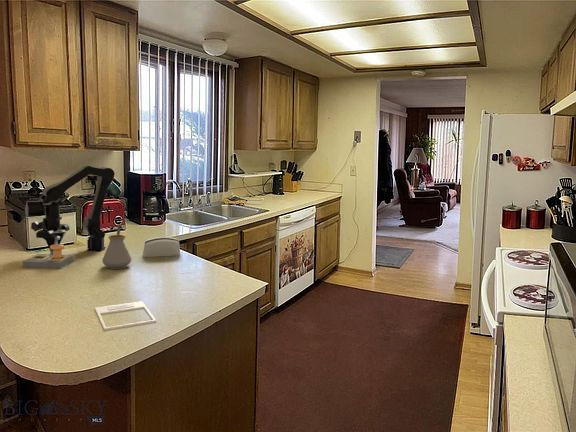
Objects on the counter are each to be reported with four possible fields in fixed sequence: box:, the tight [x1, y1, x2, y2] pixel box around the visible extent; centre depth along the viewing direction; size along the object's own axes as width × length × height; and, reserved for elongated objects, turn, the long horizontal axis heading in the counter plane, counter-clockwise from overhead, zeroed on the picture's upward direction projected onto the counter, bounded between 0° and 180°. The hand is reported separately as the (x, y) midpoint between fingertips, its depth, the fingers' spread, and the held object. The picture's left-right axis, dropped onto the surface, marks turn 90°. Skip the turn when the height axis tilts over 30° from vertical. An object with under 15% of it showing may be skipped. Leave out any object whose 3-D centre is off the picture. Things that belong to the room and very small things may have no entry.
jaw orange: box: [49, 243, 65, 259], centre depth 194 cm, size 5×5×8 cm
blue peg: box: [49, 235, 60, 255], centre depth 209 cm, size 5×5×8 cm
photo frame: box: [94, 300, 157, 331], centre depth 144 cm, size 15×1×18 cm
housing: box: [22, 253, 75, 270], centre depth 194 cm, size 15×12×3 cm
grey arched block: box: [142, 236, 181, 258], centre depth 215 cm, size 17×5×10 cm, turn 112°
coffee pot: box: [101, 224, 133, 270], centre depth 199 cm, size 21×12×15 cm, turn 15°
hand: (54, 249), depth 209 cm, fingers closed on blue peg, 4 cm apart
